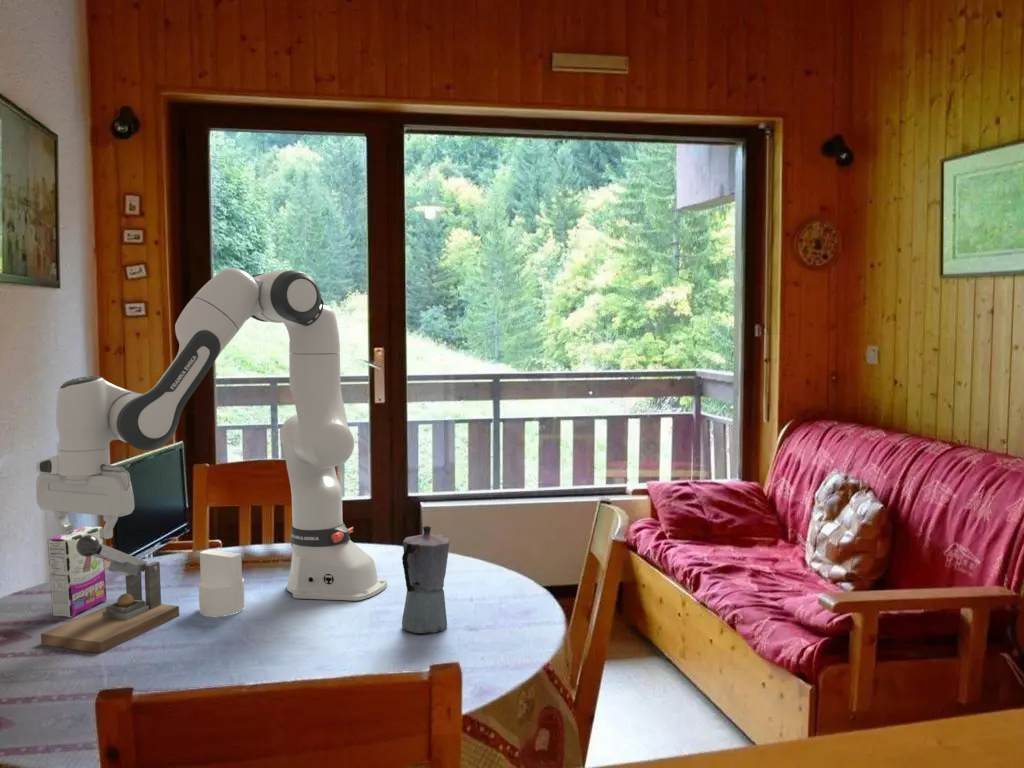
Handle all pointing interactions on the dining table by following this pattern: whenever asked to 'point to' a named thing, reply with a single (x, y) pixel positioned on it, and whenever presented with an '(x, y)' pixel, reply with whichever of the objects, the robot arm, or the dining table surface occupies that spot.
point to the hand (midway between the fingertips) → (86, 536)
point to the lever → (110, 556)
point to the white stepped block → (221, 583)
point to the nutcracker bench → (116, 618)
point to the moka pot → (425, 582)
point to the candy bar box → (75, 574)
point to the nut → (125, 600)
